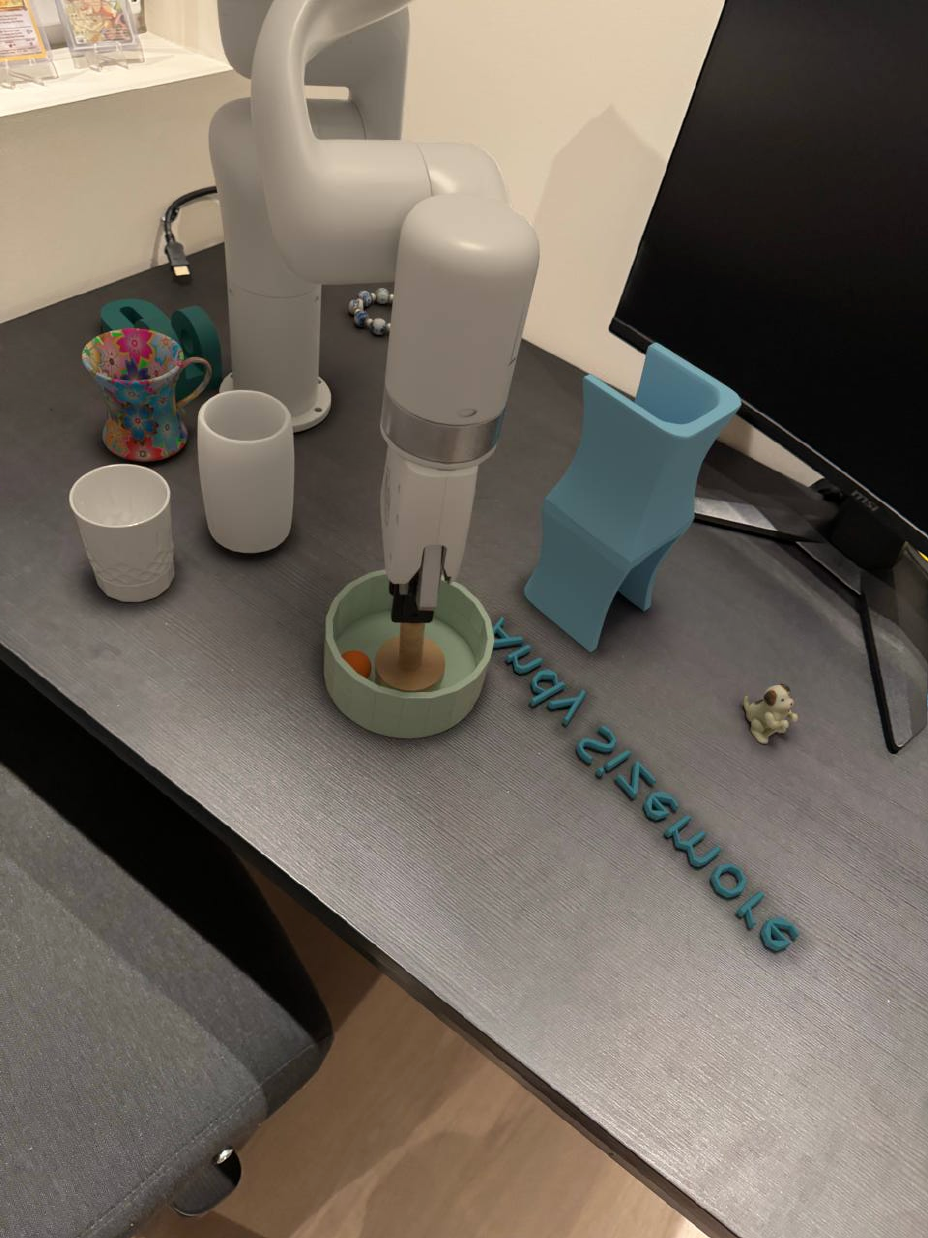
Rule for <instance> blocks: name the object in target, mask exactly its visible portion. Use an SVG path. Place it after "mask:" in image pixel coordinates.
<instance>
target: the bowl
mask: <svg viewBox="0 0 928 1238" xmlns="http://www.w3.org/2000/svg"><path fill="white" fill-rule="evenodd" d="M389 581H390V580H389V579H388V577H387V575H386V570H385V568H384V569H380V570H375V571H370V572H367V573H366V574H364V575H362V576H360V577H358V578H356V579H354V580H353V581H350V582H349V583H347V584H346V585H345V586H344V588H343V589H341V591H340V592H339V593H338V594H337V595H336V596H335V597H334V598H333V599H332V602H331V604H330V606H329V609H328V612H327V614H326V616H325V621H324V640H323V641H324V642H323V680H324V684H325V689H326V690H327V692H328V695H329V697H330V698H331V700H332V702H333V703H334V704H335V706H336V707H337V708H338V709H339V710H340V712H341V713H342V714H343V715H345V717H347V718H348V719H349V720H350V721H352V722H353V723H355V724H356V725H358V726H360V727H361V728H363V729H365V730H367V731H370V732H372V733H375V734H377V735H380V736H385V737H389V738H395V739H396V738H397V739H422V738H427V737H432V736H434V735H438V734H441V733H444V732H445V731H448V730H450V729H452V728H453V727H455V726H456V725H458V724H459V723H460V722H461V721H463V720H464V719H465V718H466V717H467V716H468V714H469V713H470V712H471V711H472V710H473V708H475V707H474V706H475V705H476V703H477V701H478V699H479V697H480V696H481V693H482V689H483V685H484V682H485V679H486V675H487V672H488V669H489V666H490V663H491V658H492V654H493V649H494V648H493V645H494V641H495V640H496V639H495V635H494V634H493V629H492V628H493V623H492V620H491V617H490V616H489V614H488V612H487V611H486V609H485V607H484V605H483V604H482V602H481V601H480V600H479V598H477V597H476V596H475V595H474V594H472V593H471V591H470V590H468V589H467V588H466V587H465V586H464V585H463V584H460V583H458V582H457V581H456V580H455V581H454V582H453V583H451V584H450V585H448V584H447V582H445V581H444V574H442V575H441V580H440V585H439V591H438V599H437V608H436V611H435V610H434V615H433V620H432V621H431V622H430V623H425V631H424V637H425V638H428V639H430V640H431V641H433V642H434V643H435V644H437V645H438V646H439V648H440V649H441V650H442V652H443V654H444V657H445V673H444V678H443V680H442V682H441V684H440V685H439V687H438V688H437V689H436V690H435V691H433V692H401V691H397V690H394V689H390V688H386V687H382V686H381V685H380V684H379V682H378V680H377V678H376V674H375V657H376V654H377V652H378V650H379V648H380V647H381V646H382V645H383V644H384V643H385V642H386V641H388V640H390V639H392V638H394V637H396V636H400V623H394V622H392V620H391V610H392V603H393V597H394V596H392V595H391V594H390V593H389ZM351 650H357V651H361V652H363V653H364V654H366V655H367V656H368V658H369V659H370V662H371V666H372V669H371V674H370V676H369V678H368V679H366V678H364V677H363V676H361V675H359V674H357V673H356V672H355V671H354V669H353V668H352V667H351V666H350V665H349V664H348V663H347V662H346V661H345V660H344V659H343V658H342V657H341V655H342V654H344V653H345V652H347V651H351Z"/></svg>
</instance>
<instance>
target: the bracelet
mask: <svg viewBox="0 0 928 1238" xmlns="http://www.w3.org/2000/svg"><path fill="white" fill-rule="evenodd" d="M393 296H394V293H391V294H390V292H389V291H388V290H387V289H386V288H383V287H380V288H378V289H376V290H375V292H373V293H372V292H369V291H366V290H360V291H359V292H358V293H357V295H356V299H352V300H350V302H349V303H348V305H347V307H348V312H349V313H350V314H351V315H353V321H354V323H355V324H356V326H358V327H360V328H361V327H366V326H368V327H370V329H371V331H372V332H373V334H376V335H378V336H379V335H383V334H384V333H385V332H387V331H388V332H390V324H391V322H389V323H387V322H386V320H384V319H383V318H379V317H378V318H375V319H372V318H370V315H369V314H368V312H367V311H365V310H364V307H368V306H370V305H371V303H372V301H376V303H378V304H380V305H383V304H384V305H385V304H387V303H388V302H391V303H393Z"/></svg>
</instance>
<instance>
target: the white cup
mask: <svg viewBox="0 0 928 1238" xmlns="http://www.w3.org/2000/svg"><path fill="white" fill-rule="evenodd" d="M171 496H172V495H171V488H170V486H169V484H168V482H167V481H166V479H165V478H164V477H163V476H162V475H161V474H159V473H158V472H156V471H155V470H154V469H151V468H148V467H146V466H142V465H138V464H130V463H116V464H109V465H105V466H100V467H97V468H95V469H92V470H90V471H87V472H86V473H85V474H83V475H82V476H80V477H79V478H78V479H77V480H76V481H75V482H74V484H73V485H72V486H71V488H70V490H69V495H68V501H69V505H70V508H71V511H72V515H73V518H74V520H75V524H76V527H77V530H78V533H79V536H80V540H81V542H82V547H83V548H84V550H85V553H86V557H87V559H88V562H89V564H90V566H91V568H92V570H93V573H94V577H95V581H96V584H97V586H98V587H99V589H101V591H102V592H103V593H104V594H105V595H106V596H107V597H109V598H112V599H115V600H117V601H120V602H123V603H141V602H145V601H148V600H150V599H154V598H157V597H158V596H160V595H161V594H162V593H164V592H165V591H166V590H167V589H169V588H170V587H171V584H172V582H173V580H174V578H175V563H174V551H175V545H174V544H175V542H174V525H173V524H174V523H173V512H172V510H173V509H172V499H171V498H172V497H171Z"/></svg>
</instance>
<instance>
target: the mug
mask: <svg viewBox="0 0 928 1238" xmlns="http://www.w3.org/2000/svg"><path fill="white" fill-rule="evenodd" d="M81 360H82V363H83V366H84V367H85V369H86V370H87V371H88V372H89V374H90V375H91V376H92V377H93V379H94V381H95V382H96V384H97V386H98V388H99V389H100V392H101V394H102V396H103V398H104V399H103V400H104V404H105V409H106V422H105V425H104V427H103V430H102V441H103V443H104V445H105V447H107V449H108V450H109V451H110V452H111V453H113V454H114V455H115V456H118V457H119V458H122V459H124V460H127V461H132V462H144V463H145V462H147V463H149V462H157V461H160V460H165V459H168V458H170V457H172V456H174V455H175V454H177V453H178V452H180V451H181V450H182V449H183V447H184V446H185V445H186V443H187V440H188V437H189V433H188V429H187V426H186V424H185V423H184V421H183V420H182V419H181V417H180V415H179V413H180V414H182V415H185V414H186V410H185V408H183V407H185V406H187V405H188V404H189V403H191V402H193V400H195V399H196V398H197V397H198V396H199V395H200V394H202V393H203V392H202V391H203V390H204V388H205V387H206V385H207V384H208V382H209V380H210V377H211V367H210V364H209V363H208V362H207V361H206V360H205V359H203V358H200V357H191V358H188V359H186V360H184V354H183V351H182V349H181V347H180V346H179V344H178V343H177V342H175V341H174V340H173V339H171V338H170V337H168V336H166V335H164V334H161V333H159V332H155V331H151V330H146V329H119V330H114V331H110V332H106V333H104V332H103V333H101V334H99V335H97V336H95V337H94V338H92V339H91V340H90V341H89V342H87V344H85V346H84V348H83V350H82V352H81ZM192 363H202V364H204V365H205V366H206V367H207V372H206V375H205V378H204V380H203V381H202V383H201V384H200V386H199V387H198V388H197V389H196V390H195V391H194V392H193V393H192V394H190V395H189V396H188V397H185V398H182V399H180V401H178V402H177V403H176V401H175V386H176V381H177V380H178V379H179V375H180V372H181V371H182V370H183V369H184V368H185V367H186V366H187V365H189V364H192ZM178 412H179V413H178Z"/></svg>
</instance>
